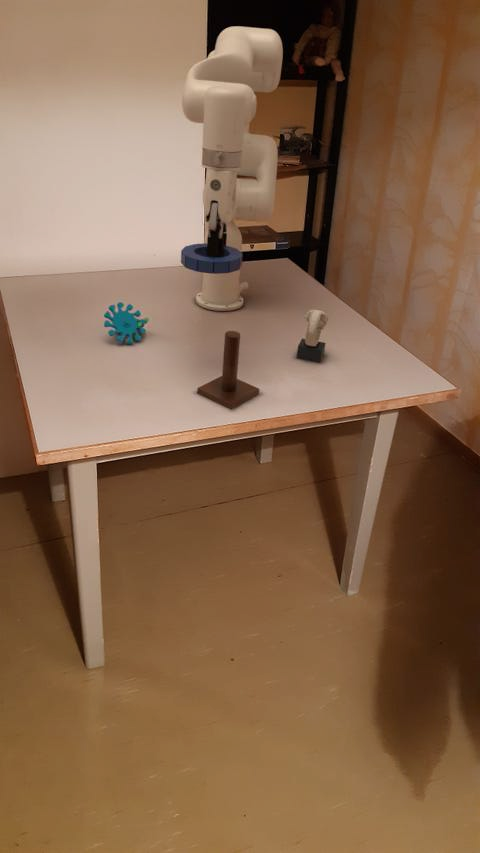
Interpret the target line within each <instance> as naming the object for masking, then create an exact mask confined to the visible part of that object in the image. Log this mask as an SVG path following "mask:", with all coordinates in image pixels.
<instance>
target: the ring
mask: <svg viewBox="0 0 480 853" xmlns="http://www.w3.org/2000/svg"><path fill="white" fill-rule="evenodd" d="M180 263H181V265H182V266H183V267H184V268H185V269H189V270H191V271H194V272H196V273H197V272H198V273H202V274H203V273H210V274H213V273H214V274H222V273H231V272H234V271H237V270H239V269H240V270H241V267H242V266H243V253H242V251H241V252H240V251H239V250H238V249H236V248H233V247H230V246H226V245H223V256H222V258H215V257H208V256H207V243H205V244H204V243H194V244H188V245H186V246H184V247H183V248H182V249H181V251H180Z"/></svg>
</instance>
